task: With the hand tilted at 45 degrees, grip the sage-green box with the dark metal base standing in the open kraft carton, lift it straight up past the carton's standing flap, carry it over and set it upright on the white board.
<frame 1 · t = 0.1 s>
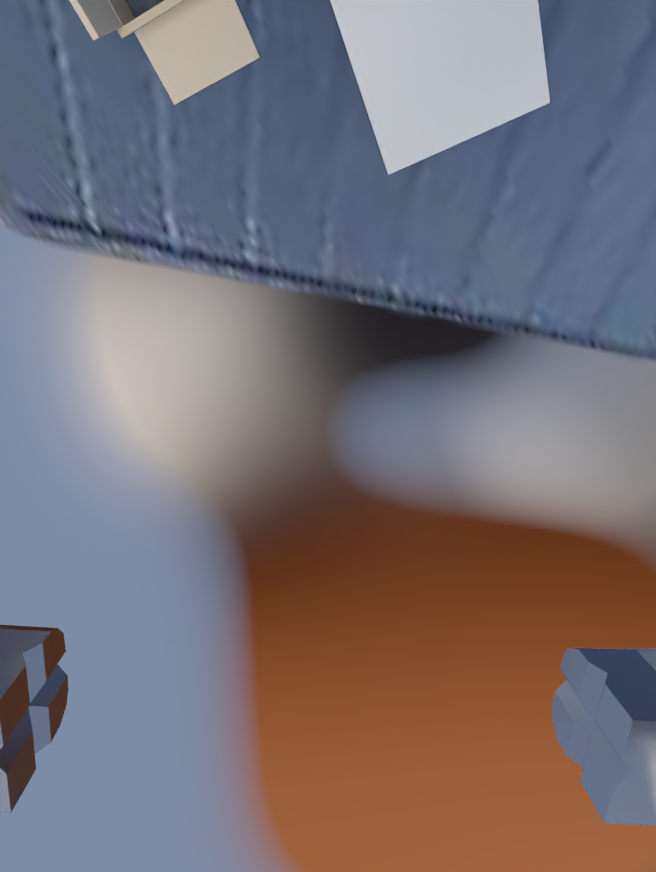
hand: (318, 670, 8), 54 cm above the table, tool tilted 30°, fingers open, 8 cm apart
white board: (437, 20, 45), on the table
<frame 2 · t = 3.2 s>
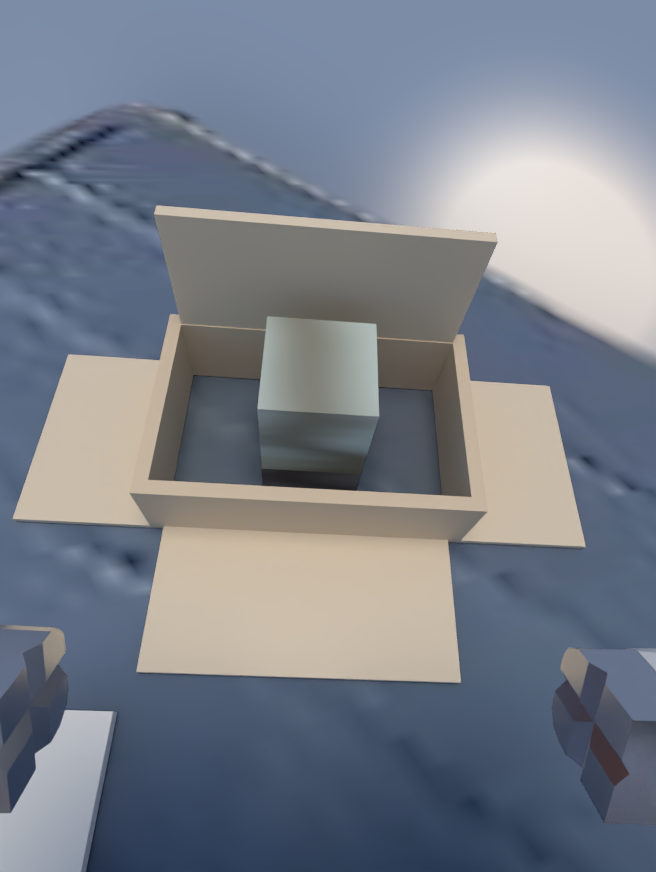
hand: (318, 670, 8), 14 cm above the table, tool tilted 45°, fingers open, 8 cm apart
carton: (311, 447, 26), on the table
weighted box: (311, 448, 26), resting in carton
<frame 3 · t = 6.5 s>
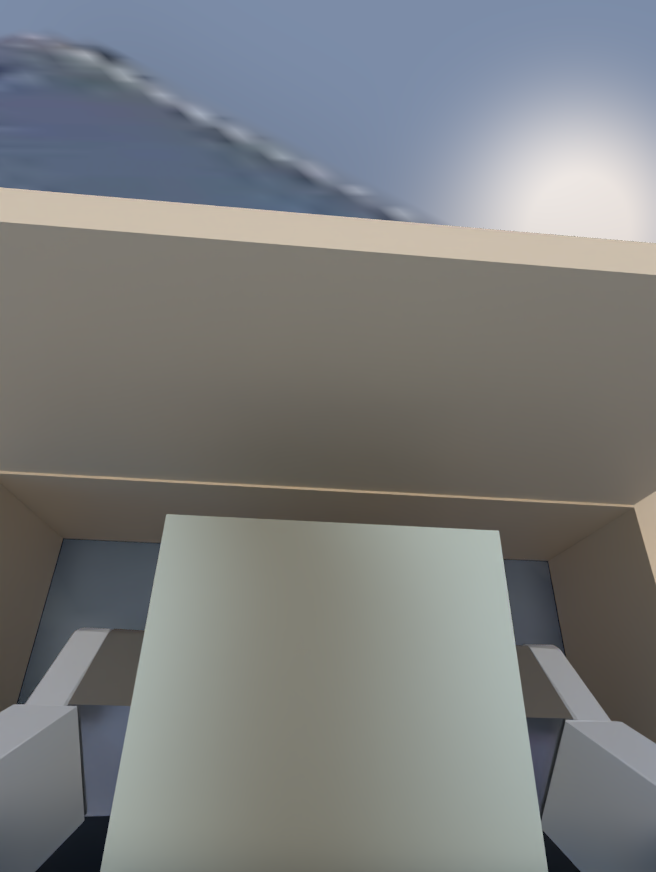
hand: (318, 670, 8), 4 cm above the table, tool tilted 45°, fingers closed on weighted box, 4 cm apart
carton: (305, 720, 12), on the table
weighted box: (305, 720, 12), resting in carton, touching gripper
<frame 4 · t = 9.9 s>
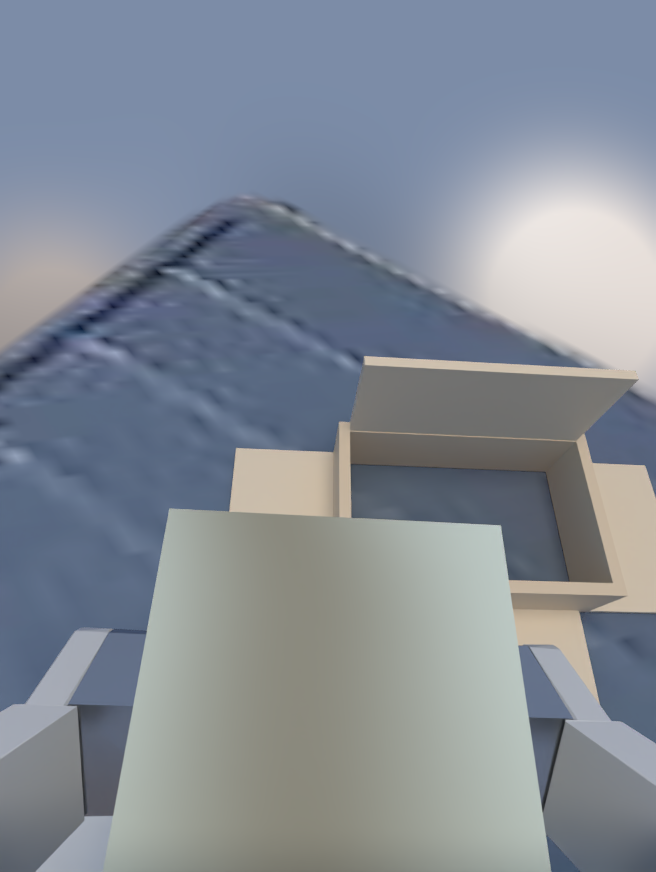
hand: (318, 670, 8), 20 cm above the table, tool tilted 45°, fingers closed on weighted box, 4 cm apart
carton: (452, 528, 31), on the table
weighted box: (307, 716, 12), point 15 cm above the table, touching gripper
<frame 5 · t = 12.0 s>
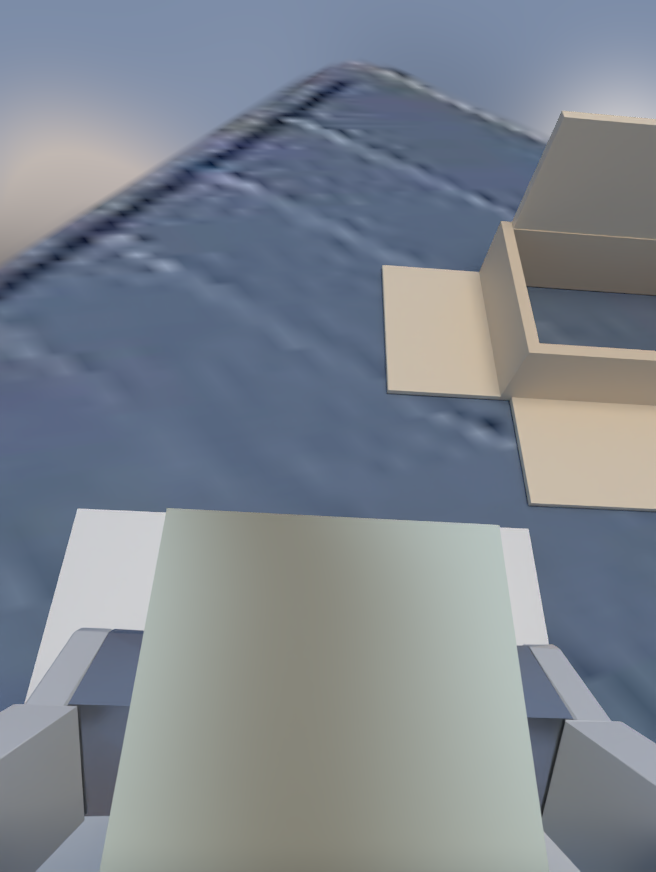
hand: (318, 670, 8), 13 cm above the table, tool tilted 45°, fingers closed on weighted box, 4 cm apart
carton: (606, 340, 30), on the table
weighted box: (305, 716, 12), point 9 cm above the table, touching gripper
white board: (299, 725, 20), on the table
when the fingers open (6 cm above the table, at t = 13.6 s): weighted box drops 1 cm, resting on white board.
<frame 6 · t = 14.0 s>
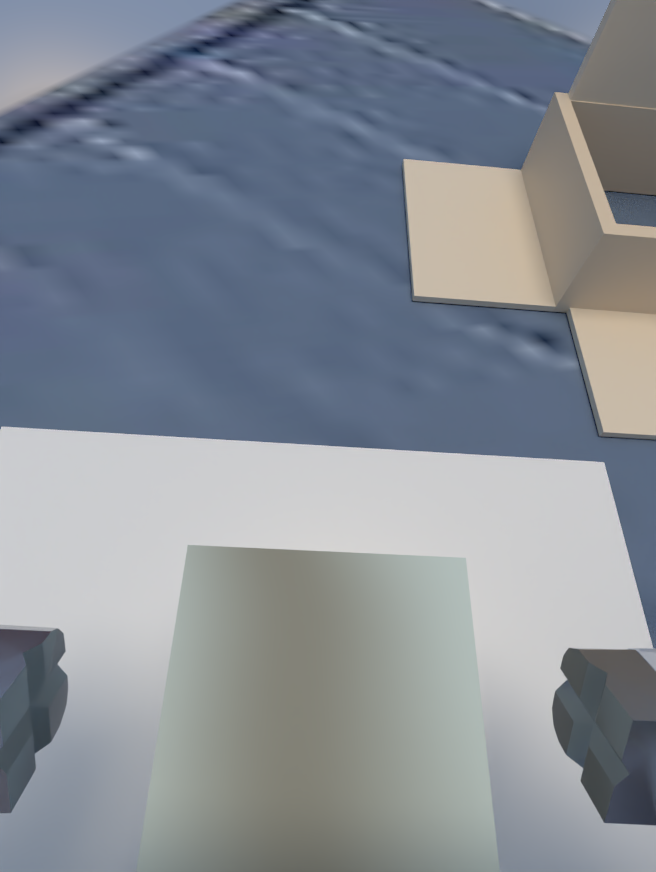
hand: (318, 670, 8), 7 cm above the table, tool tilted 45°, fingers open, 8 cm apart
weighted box: (304, 717, 13), point 1 cm above the table, touching white board
white board: (300, 719, 14), on the table
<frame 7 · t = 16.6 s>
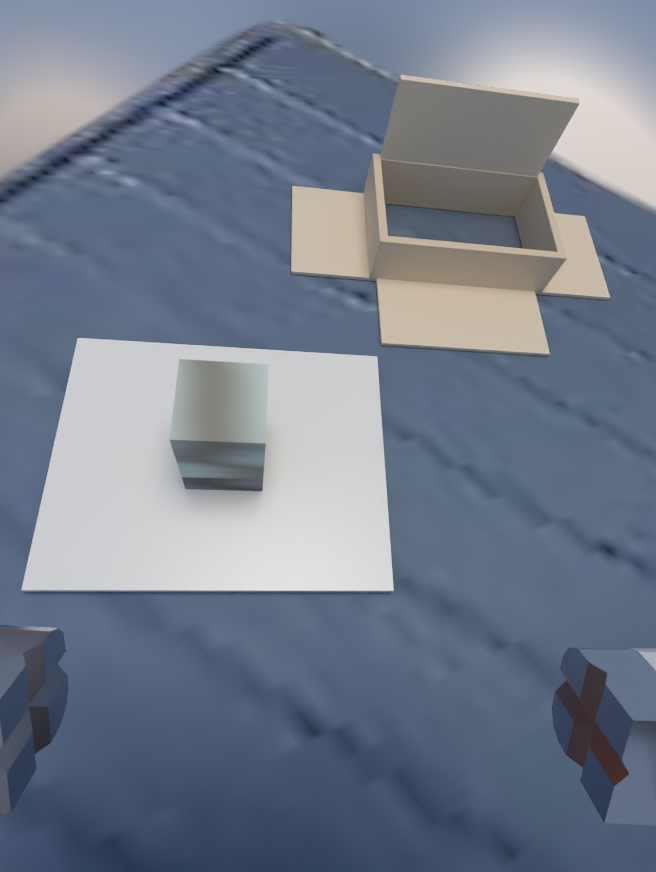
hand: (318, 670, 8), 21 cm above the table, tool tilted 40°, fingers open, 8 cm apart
carton: (449, 244, 43), on the table
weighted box: (226, 455, 32), point 1 cm above the table, touching white board
white board: (225, 459, 33), on the table
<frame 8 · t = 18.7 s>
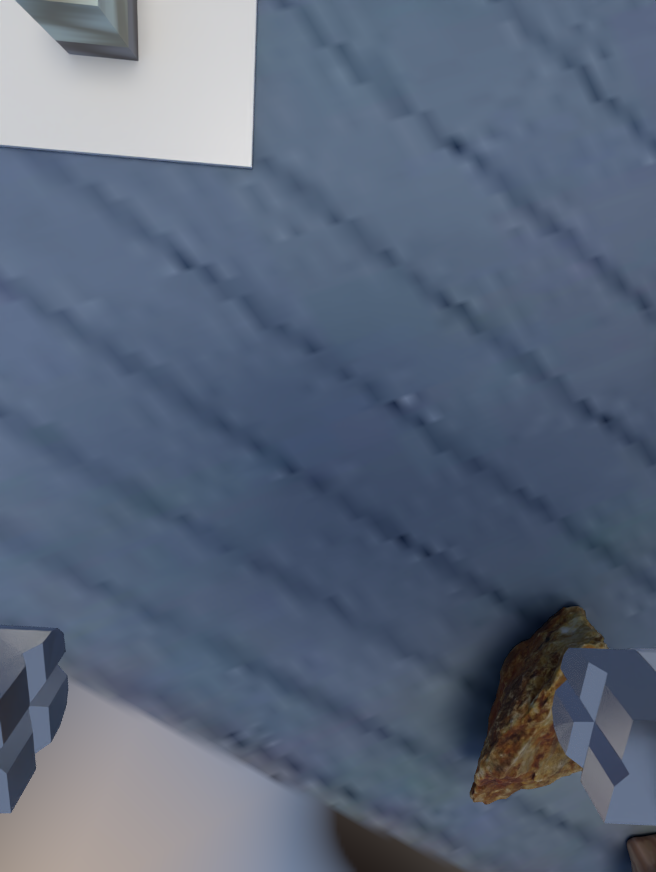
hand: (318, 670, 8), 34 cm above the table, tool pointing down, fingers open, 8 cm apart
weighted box: (102, 17, 34), point 1 cm above the table, touching white board
cupcake: (644, 845, 57), on the table
white board: (105, 23, 35), on the table
rock: (525, 678, 51), on the table
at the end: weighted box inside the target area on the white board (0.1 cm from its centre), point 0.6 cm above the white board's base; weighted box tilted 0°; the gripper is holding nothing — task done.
